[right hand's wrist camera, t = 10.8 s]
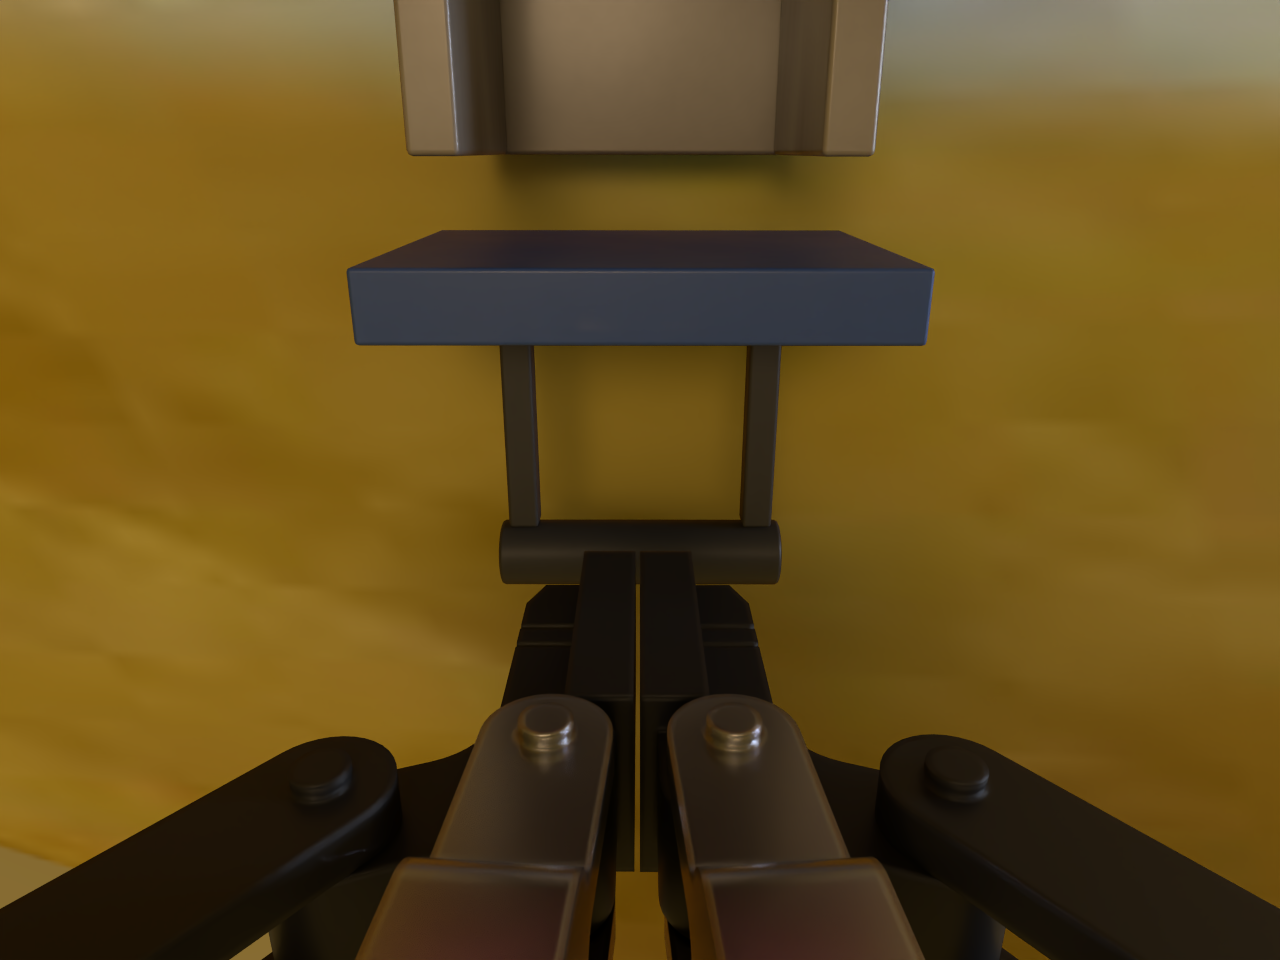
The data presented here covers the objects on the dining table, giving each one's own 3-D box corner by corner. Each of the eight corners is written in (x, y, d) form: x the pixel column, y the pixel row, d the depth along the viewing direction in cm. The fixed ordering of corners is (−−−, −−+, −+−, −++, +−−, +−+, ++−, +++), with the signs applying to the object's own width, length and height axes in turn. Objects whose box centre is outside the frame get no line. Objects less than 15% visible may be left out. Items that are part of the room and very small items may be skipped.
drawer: (818, 517, 22) (889, 664, 16) (462, 517, 22) (390, 663, 16) (903, -551, 15) (1094, -1059, 9) (378, -551, 15) (189, -1059, 9)
